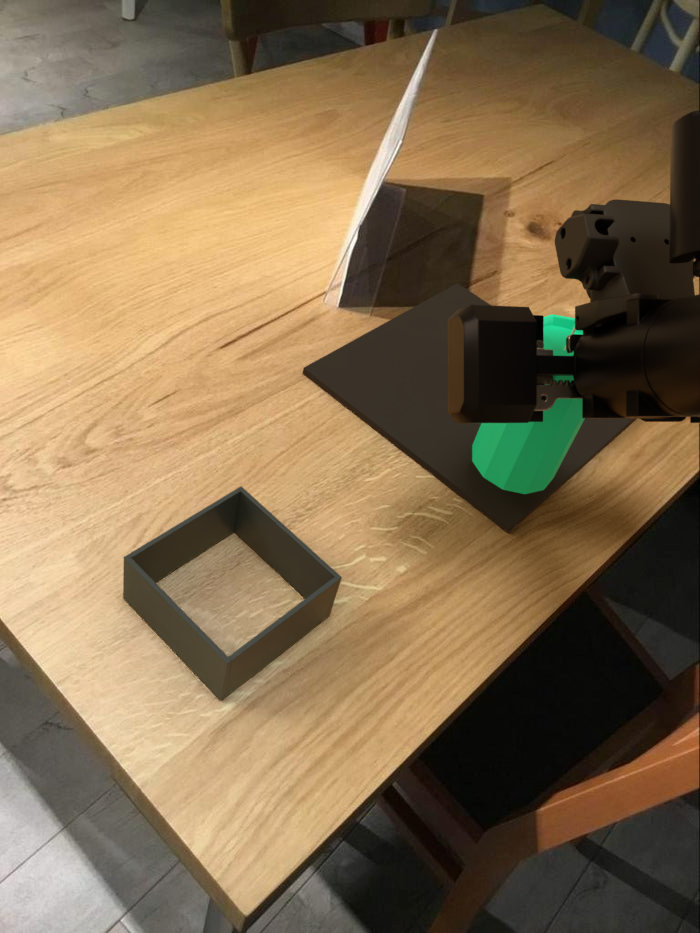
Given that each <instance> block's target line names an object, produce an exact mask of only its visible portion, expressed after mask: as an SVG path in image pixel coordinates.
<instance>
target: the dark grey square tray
mask: <svg viewBox="0 0 700 933" xmlns="http://www.w3.org/2000/svg"><path fill="white" fill-rule="evenodd" d="M233 533H235V534H236V536H238V537H239V538H240V539H241V540H242V541H243V542H244V543H246V545H248V546H249V548H251V549H252V550H253V551H254V552H255V553H256V554H257V555H258V556H259V557H260V558H261V559H262V560H263V561H264V562H265V563H267V564H268V565H269V566H270V567H271V568H272V569H273V570H274V571H275V572H276V573H277V574H278V575H279V576H281V577H282V579H284V580H285V581H286V582H287V583H288V584H289V585H290V586H291V587H292V588H293V589H294V590H296V592H298V593H299V595H301V596H302V597H303V598H304V599H303V600H301V601H300V602H299V603H298V604H297V605H295V606H294V607H292V608H291V609H290V610H289V611H287V612H286V613H284V614H283V615H282V616H281V617H279V618H278V619H277V620H275V621H274V622H272V623H271V624H270V625H269V626H267V627H266V628H265V629H263V630H262V631H261V632H259V633H257V635H255V636H254V637H253V638H251V639H250V640H248V641H247V642H246V643H245V644H243V645H242V646H240V647H239V648H238V649H236V650H235V651H234V652H232V653H231V654H230V655H229V656H228V655H227V654H226V653H225V652H224V651H223V650H222V649H221V648H220V647H219V646H218V645H217V644H216V643H215V642H214V640H212V639H211V637H209V635H207V633H206V632H204V630H202V629H201V628H200V626H199V625H198V624H196V622H195V621H194V620H193V619H192V618H191V617H190V616H189V615H188V614H187V613H186V612H185V611H184V610H183V609H182V608H181V607H180V606H179V605H178V603H176V602H175V601H174V600H173V599H172V598H171V597H170V596H169V594H167V592H165V591H164V590H163V589H162V587H161V586H159V585H158V584H157V582H159V581H160V580H162V579H164V578H165V577H166V576H168V575H170V574H171V573H172V572H174V571H176V570H177V569H179V568H181V567H182V566H184V565H185V564H187V563H188V562H190V561H192V560H193V559H195V558H196V557H198V556H199V555H201V554H203V553H204V552H206V551H207V550H209V549H210V548H212V547H213V546H215V545H216V544H218V543H220V542H221V541H222V540H224V539H226V538H227V537H229V536H230V535H232V534H233ZM122 576H123V580H122V581H123V582H122V584H123V586H122V588H123V589H122V590H123V591H122V598H123V600H124V601H125V602H126V603H127V604H128V605H129V606H130V607H131V608H132V609H133V610H134V611H135V612H136V613H137V615H139V617H140V618H141V619H142V620H143V621H144V622H145V623H146V624H147V625H148V626H149V628H151V629H152V630H153V631H154V633H155V634H157V636H158V637H159V638H160V639H161V640H162V641H163V642H164V643H165V644H166V645H167V646H168V647H169V648H170V649H171V651H173V652H174V654H175V655H176V656H177V657H178V658H179V659H180V660H181V661H182V662H183V663H184V664H185V665H186V666H187V667H188V668H189V670H191V672H192V673H193V674H194V675H195V676H196V677H197V678H198V679H199V680H200V681H201V683H203V684H204V686H206V687H207V688H208V690H209V691H210V692H211V693H212V694H213V695H214V696H215V697H216V698H217V700H219V701H220V702H222V701H223V700H225V698H227V697H228V696H230V695H231V694H232V693H233V692H235V691H236V690H237V689H239V688H240V687H241V686H242V685H244V684H245V683H246V682H247V681H249V680H250V679H251V678H252V677H254V676H255V675H256V674H258V673H259V672H260V671H261V670H262V669H264V668H265V667H266V666H268V665H269V664H270V663H271V662H273V661H274V660H275V659H277V658H278V657H280V656H281V655H282V654H283V653H284V652H286V651H287V650H288V649H290V648H291V647H292V646H293V645H295V644H296V643H297V642H299V641H300V640H301V639H302V638H304V637H305V636H306V635H307V634H309V633H310V632H311V631H312V630H313V629H315V628H317V627H318V626H319V625H320V624H321V623H323V622H324V621H325V620H327V619H328V618H329V617H330V615H331V613H332V609H333V607H334V604H335V600H336V597H337V594H338V591H339V588H340V584H341V581H342V578H343V577H342V576H341V575H340V574H339V573H338V572H337V571H336V570H335V569H333V568H332V567H331V566H330V565H329V564H328V563H327V562H326V561H325V560H323V559H322V557H320V556H319V555H318V554H317V553H316V552H315V551H314V550H313V549H312V548H310V547H309V545H307V544H306V543H305V542H304V541H303V540H301V539H300V538H299V537H298V536H297V535H296V534H295V533H293V531H292V530H291V529H289V528H288V527H287V526H286V525H285V524H284V523H283V522H281V521H280V520H279V519H278V517H276V516H275V515H274V514H273V513H272V512H270V511H269V509H267V508H266V507H265V506H264V505H263V504H262V503H260V502H259V501H258V499H256V498H255V497H254V496H253V495H252V494H250V492H248V490H246V489H245V488H244V487H243V486H239V487H237V488H236V489H234V490H232V491H230V492H229V493H227V494H225V495H224V496H222V497H221V498H218V500H216V501H214V502H212V503H211V504H209V505H208V506H206V507H204V508H202V509H201V510H199V511H197V512H196V513H194V514H192V515H191V516H189V517H187V518H186V519H184V520H182V521H181V522H179V523H177V524H176V525H174V526H173V527H171V528H169V529H168V530H166V531H165V532H162V533H161V534H159V535H158V536H156V537H155V538H153V539H151V540H149V541H147V542H146V543H144V544H143V545H141V546H140V547H137V548H136V549H135V550H133V551H131V552H130V553H128V554H126V555H125V556H123V574H122Z"/></svg>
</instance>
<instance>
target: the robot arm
mask: <svg viewBox="0 0 700 933" xmlns="http://www.w3.org/2000/svg"><path fill="white" fill-rule="evenodd" d="M669 167H670V170H669V174H670V175H669V176H670V178H669V179H670V180H669V189H670V190H669V203H665V202H658V201H657V202H656V201H655V202H654V201H645V200H644V201H643V200H631V199H619V198H617V199H615V198H614V199H611V200H608V201H607V202H606V203H605V204H597V203H590V204H589V206H588V207H586V208H585V209H583V210H577V209H575V210H573V211H572V213H571V216H570V217H567V219H566V220H565V221H564V222H563V223H562V225H561V226H560V227H559V228H558V229H557V230H556V231H555V232H556V233H555V235H554V236H555V237H554V247H555V252H556V257H557V258H556V259H557V262H558V268H559V273H560V275H561V277H563V278H564V279H566V280H577V281H578V282H580V283H581V284H582V288H583V289H584V290H585V291H586V294H587V296H588V298H589V302H586V303H581V304H579V305H576V306H575V307H574V318H575V329H576V330H583V335H580V334H572V335H568V336H567V338H566V349H567V353H572V352H574V355H573V356H553V350H546V349H543V347H544V343H543V321H544V317H545V316H544V315H542V314H540V315H539V314H533V312H532V310H531V308H530V306H515V305H513V306H512V305H492V304H490V305H469V306H466V307H463V308H460V309H458V310H457V311H456V312H455V313H454V314H453V315H452V316H451V317H450V318H449V319H448V414H449V415H450V416H451V417H452V418H453V419H454V420H455V421H456V422H457V423H529V422H543V411H546V410H549V409H551V408H552V406H553V405H554V403H555V401H556V400H557V399H583V402H582V418H637V419H639V420H641V421H643V422H646V423H681V422H683V421H685V420H686V419H687V418H689V421H690V422H689V423H691V424H700V293H698V294H695V284H694V283H695V282H694V279H695V277H696V278H700V110H693V111H690V112H688V113H686V114H684V115H682V116H681V117H679V118H678V119H677V120H675V121H674V122H673V124H672V125H671V126H670V166H669ZM553 376H573V377H574V380H571V382H570V381H569V380H565V381H564V382H563V380H558V383H557V381H556V380H553Z"/></svg>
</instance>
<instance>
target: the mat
mask: <svg viewBox="0 0 700 933" xmlns="http://www.w3.org/2000/svg"><path fill="white" fill-rule="evenodd" d="M469 305H491V304H490V303H488V302H487V301H485V300H484V299H483V298H481V297H480V296H478V295H477V294H475V293H473V292H472V291H470V290H469V289H468V288H466V287H464V286H463V285H461V284H460V283H459V282H457V283H455V284H453V285H451V286H449V287H448V288H446V289H444V290H442V291H441V292H438V293H437V294H435V295H433V296H432V297H430V298H429V297H428V298H427V299H426V300H424V301H422V302H420V303H419V304H417V305H415V306H412V307H411V308H410V309H408V310H406V311H403V312H402V313H401V314H399V315H397V316H396V317H393V318H391V319H390V320H387V321H386V322H384V323H382V324H380V325H378V326H376V327H375V328H373V329H371V330H370V331H367V332H366V333H364V334H362V335H361V336H359V337H357V338H355V339H353V340H352V341H349V342H347V343H346V344H344V345H342V346H340V347H339V348H337V349H335V350H333V351H330V352H329V353H328V354H325V355H324V356H322V357H320V358H318V359H317V360H315V361H313V362H311V363H310V364H308V365H306V366H304V367H303V369H302V374H303V375H304V376H305V377H307V378H308V379H309V380H311V381H312V382H313V383H314V384H316V385H317V386H318V387H320V388H321V389H322V390H323V391H325V393H327V394H329V395H330V396H331V397H333V398H334V399H335V400H336V401H338V402H339V403H340V404H341V405H342V406H344V407H345V408H346V409H347V410H349V411H350V412H352V413H353V414H354V415H355V416H357V417H358V418H359V419H361V420H362V421H363V422H364V423H366V424H367V425H369V426H370V427H371V428H372V429H373V430H375V432H377V433H379V434H380V435H381V436H382V437H384V438H385V439H386V440H388V441H389V443H391V444H393V445H394V446H396V447H397V448H398V449H399V450H401V451H402V452H403V453H404V454H406V456H408V457H409V458H411V459H412V461H414V462H416V463H417V464H418V465H419V466H421V467H422V468H424V469H425V470H426V471H427V472H429V473H430V474H431V475H432V476H434V477H435V478H437V479H438V480H439V481H440V482H442V483H443V484H444V485H445V486H447V487H448V488H449V489H451V490H452V491H453V492H454V493H456V494H457V495H458V496H459V497H461V498H462V499H463V500H464V501H466V502H467V503H468V504H470V505H472V507H474V508H475V509H476V510H477V511H479V512H480V513H481V514H483V516H485V517H486V518H488V519H489V520H490V521H491V522H493V523H494V524H495V525H497V526H498V527H499V528H501V529H502V530H503V531H504V532H506V533H508V534H509V533H511V532H512V531H513V530H514V529H515V528H516V527H517V526H518V525H519V524H521V523H522V522H523V521H524V520H525V519H526V518H527V517H529V516H530V515H531V514H532V513H533V512H534V511H535V510H536V509H537V508H538V507H540V506H541V505H542V504H543V503H544V502H546V500H548V498H550V497H551V496H552V495H553V494H554V493H555V492H556V491H558V490H559V489H560V488H561V487H562V486H563V485H564V484H565V483H566V482H568V481H569V480H570V479H571V478H573V476H574V475H576V474H577V473H578V471H580V470H581V469H582V468H584V466H585V465H587V464H588V463H589V462H590V461H591V460H592V459H593V458H594V457H596V455H598V454H599V453H600V452H601V451H602V450H603V449H604V448H606V447H608V445H609V444H610V443H611V442H612V441H613V440H615V438H617V437H618V436H619V435H620V434H621V433H623V431H625V430H626V429H627V428H628V427H629V426H630V425H631V424H633V422H635V421H636V420H638V418H585V419H584V421H583V423H582V425H581V427H580V429H579V431H578V433H577V434H576V436H575V438H574V440H573V442H572V444H571V446H570V448H569V450H568V452H567V453H566V455H565V457H564V459H563V461H562V463H561V465H560V467H559V469H558V471H557V472H556V474H555V476H554V478H553V479H552V481H551V482H550V483H549V484H548V485H547V487H546V488H545V489H544V490H542V491H537V492H533V493H528V494H521V493H517V492H512V491H507V490H503V489H501V488H499V487H498V486H496V485H495V484H493V483H492V482H490V481H488V480H487V479H485V478H484V477H483V476H482V475H481V473H480V472H479V470H478V469H477V467H476V466H475V464H474V463H473V461H472V445H473V442H474V440H475V438H476V435H477V433H478V430H479V428H480V426H481V423H457V422H456V421H455V420H454V419H453V418H452V417H451V416H450V415H449V414H448V319H449V318H450V317H451V316H452V315H453V314H454V313H455V312H456V311H457V310H458V309H460V308H463V307H466V306H469Z"/></svg>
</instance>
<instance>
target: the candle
mask: <svg viewBox="0 0 700 933" xmlns="http://www.w3.org/2000/svg"><path fill="white" fill-rule="evenodd" d="M543 317H544V321H543V343H544V347H543V349H546V350H553V356H573V355H574V352H572V353H567V349H566V338H567V336H568V335H572V334H580V335H583V330H576V329H575V317H570V316H565V315H559V314H553V313H551V314H549V315H544V316H543ZM553 380H556V381H557V383H558V380H563V382H564V381H565V380H569V381H570V382H571V380H574V377H573V376H553ZM582 402H583V399H557V400H556V401H555V403H554V405H553V406H552V408H551V409H549V410H546V411H543V422H529V423H481V426H480V428H479V430H478V433H477V435H476V438H475V440H474V442H473V445H472V461H473V463H474V464H475V466H476V467H477V469H478V470H479V472H480V473H481V475H482V476H483V477H484V478H485V479H487V480H488V481H490V482H492V483H493V484H495V485H496V486H498V487H499V488H501V489H503V490H507V491H512V492H517V493H521V494H528V493H533V492H537V491H542V490H544V489H545V488H546V487H547V485H548V484H549V483H550V482H551V481H552V479H553V478H554V476H555V474H556V472H557V471H558V469H559V467H560V465H561V463H562V461H563V459H564V457H565V455H566V453H567V452H568V450H569V448H570V446H571V444H572V442H573V440H574V438H575V436H576V434H577V433H578V431H579V429H580V427H581V425H582V423H583V421H584V419H585V418H582Z"/></svg>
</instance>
